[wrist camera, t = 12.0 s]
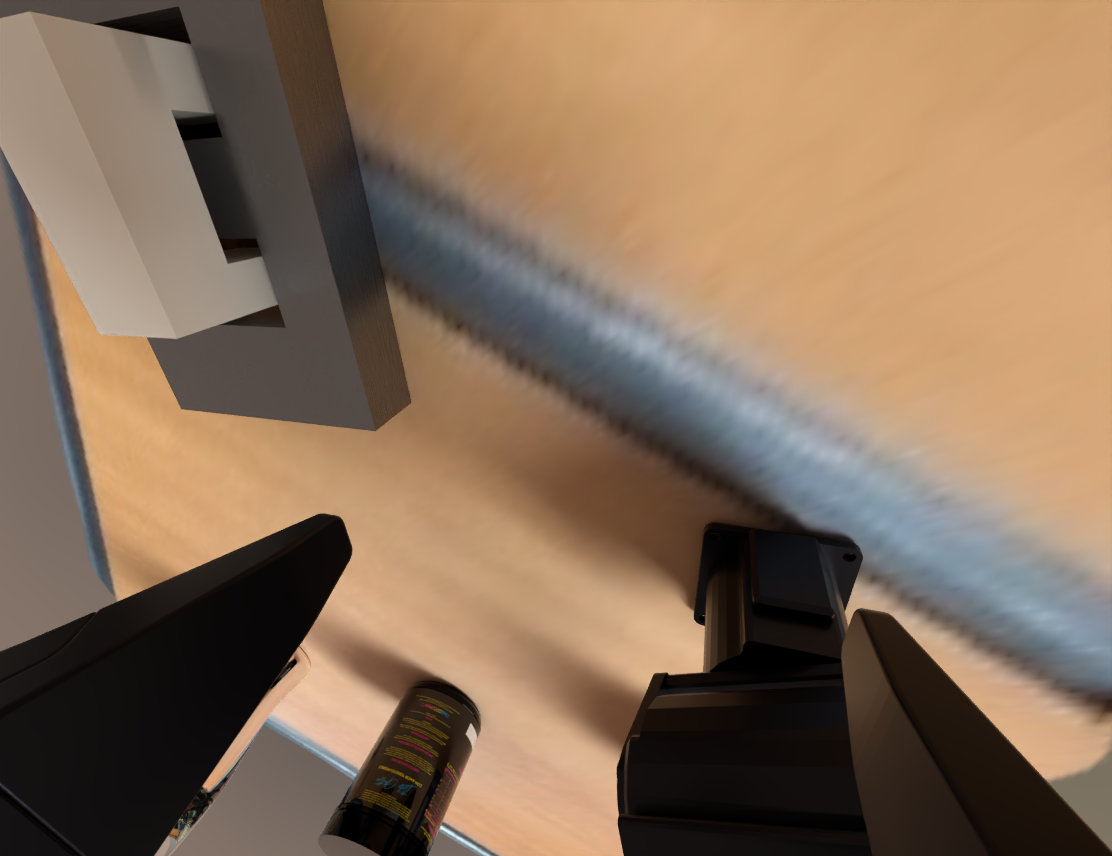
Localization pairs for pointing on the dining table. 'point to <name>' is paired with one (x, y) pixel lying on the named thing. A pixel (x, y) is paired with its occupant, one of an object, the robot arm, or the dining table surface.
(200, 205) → the block
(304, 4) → the slotted plate
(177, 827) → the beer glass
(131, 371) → the dining table surface
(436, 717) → the supplement container
